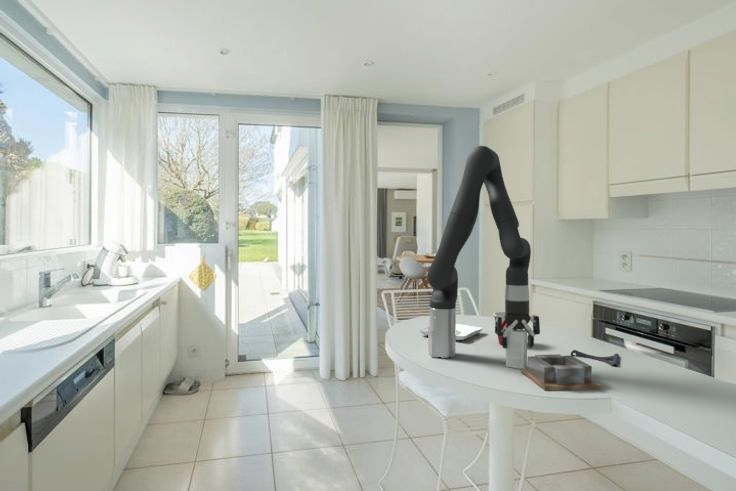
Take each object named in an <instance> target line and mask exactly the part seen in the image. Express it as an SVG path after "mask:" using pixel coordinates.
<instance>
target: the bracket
mask: <svg viewBox="0 0 736 491" xmlns="http://www.w3.org/2000/svg"><path fill="white" fill-rule="evenodd" d="M570 356H573V357H575V358H584V359H590V360H591V359H592V360H596V361H599V362H601V363H602V362H603V363H605V364H608V365H609V366H610V367H613V366H614V367H615V366H616V368H619V362H620V355H619V353H614V354H613V355H610V356H609V355H608V356H596V355H592V354H588V353H585V352H582V351H579V350H576V349H573V350H572V351H571V352H570Z"/></svg>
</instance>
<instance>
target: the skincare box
mask: <svg viewBox="0 0 736 491" xmlns="http://www.w3.org/2000/svg"><path fill="white" fill-rule="evenodd" d="M527 335H528V333H527V330H525V329H523V330H520V329H517V330H513V329H512V330H511V332H509V333H508V335H507V336H506V337H507V348H505V366H506V367H508V368H514V369H518V370H519V369H520V370H521V368H527V360H528V342H527Z"/></svg>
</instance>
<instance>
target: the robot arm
mask: <svg viewBox="0 0 736 491" xmlns="http://www.w3.org/2000/svg"><path fill="white" fill-rule="evenodd" d="M484 185H485V188H486V192H487V195H488V200H489V207H490V210H491V214H492V218H493V220H494V223H495V225H496V228H497V230H498V236H499V238H498V239H499V243H500V247H501V250H502V252H503V254H504V256H505V257H506V258H508V259H509V262H508V264H509V265H508V267H506V270H505V288H504V312H505V317H499V316H496V320H495V319H494V320H495V321H494V334H496V335H497V336H498V335H499V336H501V345H500V346H501V347H502V348H503V349H505V350H506V348H507V337H506V336H507V335H508V333H509V332H511V330H512V329H513V330H517V329H519V330H527V348H530V349H532V348H533V347H534V345H535V336H537V335H540V334H541V327H540V326H541V325H540V317H539V316H538V315H535V314H533V315H530V288H529V287H530V286H529V267H530V264H531V263H530V261H531V256H532V255H531V254H532V253H531V252H532V251H531V244H530V242H529V241H528V240H527V238H523V237H521V235H520V232H519V227H520V223H519V219H518V217H517V214H516V211H515V209H514V207H513V204H512V201H511V198H510V196H509V194H508V191H507V187H506V184H505V181H504V177H503V173H502V167H501V162H500V158H499V155H498V153H496V151H495V150H493V149H492V148H490V147H488V146H487V145H479V146H478V145H477V146H475V147H474V148H473V149H471V151H470V152H469V153H468V156H467V158H466V162H465V167H464V171H463V174H462V178H461V183H460V185H459V188H458V191H457V193H456V196H455V198H454V202H453V204H452V207H451V210H450V212H449V215H448V218H447V221H446V223H445V228H444V230H443V233H442V237H441V240H440V243H439V247H438V249H437V252H436V254H435V256H434V258H433V260H432V261H431V264H430V266H429V269H428V271H427V275H426V276H427V277H426V278H427V282H428V284H429V286H430V287H431V288H432V294H431V297H430V298H429V299H430V300H429V326H430V327H428V326H427V327H428V337H427V338H428V339H427V340H428V342H427V344H428V346H427V347H428V349H427V351H428V352H429V353H428V354H429V356H430V355H431V356H430V357H431V358H438V357H441V358H440V359H450V358H449V357H451V358H454V357H456V350H457V349H456V347H457V346H456V343H457V341H456V324H457V323H456V322H457V321H456V314H457V311H456V310H457V307H456V306H457V300H458V293H459V292H458V289H459V283H458V282H459V276H458V275H459V274H458V270H457V268H456V267H455V266H456V262H457V259H458V256H459V254H460V252H461V250H462V249H463V247H464V246H465V245H466V244H467V241H468V240H469V238H470V236H471V234H472V232H473V229H474V226H475V225H476V222H477V219H478V216H479V211H480V198H481V191H482V189H483V186H484ZM504 320H505V322H506V325H505V326H504V328H503V330H502V331H501V327H502V323H503V321H504ZM530 322H531V323H532V328H531V326H530V325H529V323H530Z"/></svg>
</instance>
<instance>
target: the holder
mask: <svg viewBox="0 0 736 491" xmlns="http://www.w3.org/2000/svg"><path fill="white" fill-rule="evenodd" d="M592 370H593V369H592V365H590V364H588V363H586V362H585V361H582V360H581V359H579V358H578V357H575V356H571V355H562V354H558V353H557V354H534V356H533V355H531V356H529V355H527V366H526V368H521V369H520V373H521V374H522V375H523V376H525V377H527V378H528V379H529V380H530V381H531V382H533V383H534V384H535V385H537V386H538V387H540V388H541V389H542V390H543V391H572V390H573V391H574V390H575V391H577V390H601V384H600V383H598V382H596V381H594V380H592V378H593V376H592V375H593V374H592Z"/></svg>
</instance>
